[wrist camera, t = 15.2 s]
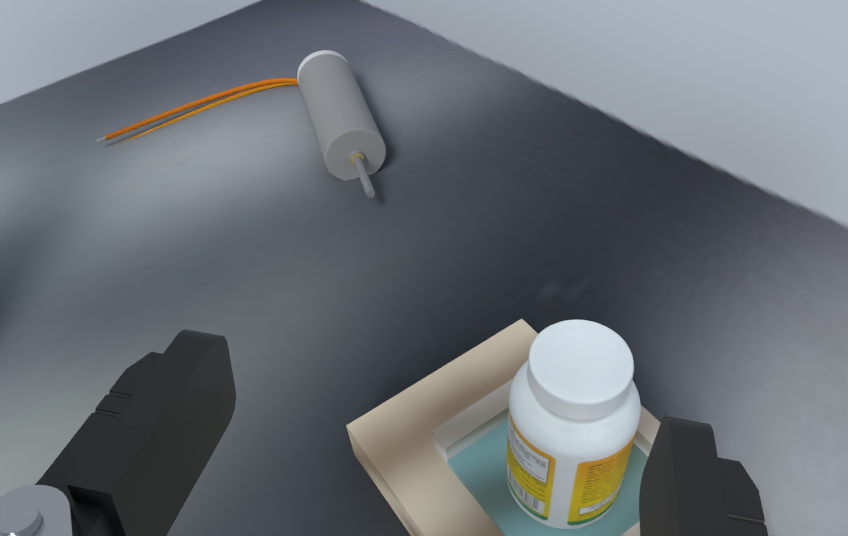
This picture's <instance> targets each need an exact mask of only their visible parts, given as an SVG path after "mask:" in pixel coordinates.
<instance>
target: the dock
mask: <svg viewBox="0 0 848 536" xmlns="http://www.w3.org/2000/svg"><path fill="white" fill-rule="evenodd" d="M537 336H538V333H537V332H536V331H535V330H533V329H532V328H531V327H530V326H529V325H528V324H527V323H526V322H525V321H524V320H523V319H520V320H519V321H517V322H515V323H514V324H512V325H510V326H509V327H507V328H505V329H504V330H502V331H501V332H499V333H497V334H496V335H494V336H492V337H491V338H489V339H487V340H486V341H484V342H483V343H481V344H479V345H478V346H476V347H474V348H473V349H471V350H469V351H468V352H466V353H464V354H463V355H461V356H460V357H458V358H456V359H455V360H453V361H451V362H450V363H448V364H446V365H445V366H443V367H442V368H440V369H438V370H437V371H435V372H433V373H432V374H430V375H428V376H427V377H425V378H424V379H422V380H420V381H419V382H417V383H415V384H414V385H412V386H410V387H409V388H407V389H405V390H404V391H402V392H401V393H399V394H397V395H396V396H394V397H392V398H391V399H389V400H387V401H386V402H384V403H383V404H381V405H379V406H378V407H376V408H374V409H373V410H371V411H369V412H368V413H366V414H364V415H363V416H361V417H360V418H358V419H356V420H355V421H353V422H351V423H350V424H348V425H346V427H347V430H348V434H349V437H350V441H351V444H352V448H353V451H354V454H355V456H356V457H357V459H358V460H359V462H360V463H361V465H362V466H363V467H364V469H365V470H366V472H367V473H368V475H369V476H370V477H371V479H372V480H373V482H374V483H375V485H376V486H377V488H378V489H379V490H380V492H381V493H382V495H383V496H384V498H385V499H386V500H387V502H388V503H389V505H390V506H391V508H392V509H393V511H394V512H395V513H396V515H397V516H398V518H399V519H400V521H401V522H402V523H403V525H404V526H405V528H406V529H407V531H408V532H409V534H410V535H411V536H640V519H639V493H640V484H641V479H642V474H643V471H644V468H645V465H646V462H647V459H648V457H649V454H650V451H651V448H652V445H653V443H654V440H655V437H656V434H657V432H658V429H659V426H660V422H659V421H658V420H657V419H656V418H655V417H654V416H653V415H652V414H651V413H649V412H648V411H647V410H646V409H645V408H644V407H643V406H642V405H641V414H640V421H639V425H638V428H637V432H636V435H635V439H634V442H633V445H632V448H631V452H630V456H629V458H628V462H627V466H626V469H625V473H624V477H623V480H622V484H621V487H620V490H619V494H618V496H617V499H616V501H615V503H614V505H613V506H612V508H611V509H610V510H609V511H608V512H607V513H606V514H605V515H604V516H603V517H602V518H600V519H599V520H597V521H596V522H593V523H592V524H589V525H587V526H584V527H581V528H577V529H559V528H554V527H550V526H547V525H544V524H542V523H540V522H538V521H536V520H534V519H533V518H532V517H530V516H529V515H528V514H526V513H525V512H524V511H523V510H522V509H521V508H520V506H519V505H518V504H517V502H516V501H515V499H514V498H513V496H512V494H511V491H510V489H509V486H508V482H507V474H506V461H507V436H508V410H509V394H510V388H511V385H512V382H513V379H514V377H515V375H516V374H517V372H518V370H519V369H520V368H521V367H522V365H523V364H524V363H525V362H526V361H528V358H529V351H530V348H531V345H532V343H533V341H534V340H535V338H536V337H537Z"/></svg>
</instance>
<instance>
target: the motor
mask: <svg viewBox="0 0 848 536" xmlns="http://www.w3.org/2000/svg"><path fill="white" fill-rule="evenodd" d="M262 85H263V86H262ZM285 85H299V87H300V90H301V93H302V96H303V99H304V102H305V105H306V108H307V111H308V114H309V117H310V120H311V123H312V126H313V129H314V132H315V135H316V138H317V141H318V144H319V147H320V150H321V153H322V156H323V159H324V162H325V165H326V168H327V169H328V171H329V172H330V173H331V174H332V175H333V176H334V177H336V178H338V179H340V180H344V181H347V180H351V179H356V178H360V180H361V183H362V185H363V188H364V190H365V193H366V195H367V197H369V198H372V197H374V195H375V191H374V189H373V186H372V184H371V181H370V179H369V176H368V175H372V174H374V173H376V172H377V171H378V170H379V169H380V167H381V166H382V164H383V163H384V160H385V157H386V146H385V143H384V141H383V138H382V136H381V134H380V132H379V130H378V127H377V125H376V123H375V121H374V119H373V116H372V114H371V112H370V110H369V107H368V105H367V103H366V101H365V99H364V96H363V94H362V92H361V90H360V88H359V85H358V83H357V81H356V79H355V77H354V74H353V72H352V70H351V68H350V66H349V64H348V62H347V60H346V59H345V58H344V57H343V56H342V55H340V54H338V53H336V52H334V51H328V50H323V51H318V52H315V53H312V54H311V55H309V56H308V57H306V58H305V59H304V60H303V62H302V63H301V65H300V66H299V69H298V73H297V79H296V78H277V79H269V80H264V81H259V82H255V83H251V84H247V85H243V86H239V87H236V88H233V89H229V90H226V91H223V92H220V93H217V94H214V95H211V96H208V97H205V98H203V99H200V100H197V101H194V102H191V103H188V104H186V105H183V106H180V107H178V108H175V109H172V110H170V111H167V112H164V113H162V114H159V115H156V116H154V117H151V118H149V119H146V120H144V121H141V122H139V123H136V124H134V125H131V126H129V127H126V128H123V129H121V130H118V131H116V132H113V133H111V134H108V135H106V136H105V137H102V138H100V139H97V140H96V142H97V143H99V142H102V141H104V140H108V139H111V138H113V137H116V136H119V135H121V134H124V133H126V132H129V131H131V130H134V129H136V128H139V127H142V126H144V125H147V124H149V123H152V122H154V121H157V120H159V119H162V118H165V117H167V116H170V115H173V114H175V113H178V112H181V111H183V110H186V109H189V108H191V107H194V106H197V105H200V104H203V103H206V102H209V101H212V100H215V99H218V98H221V97H224V96H227V95H230V94H233V93H236V92H239V91H243V90H246V89H249V90H246V91H243V92H240V93H237V94H235V95H232V96H229V97H227V98H224V99H221V100H219V101H216V102H214V103H211V104H209V105H206V106H204V107H201V108H199V109H197V110H194V111H192V112H189V113H187V114H185V115H182V116H180V117H178V118H175V119H173V120H171V121H168V122H166V123H164V124H161V125H159V126H157V127H155V128H152V129H150V130H148V131H146V132H143V133H141V134H139V135H137V136H135V137H132V138H130V139H133V138H136V137H138V136H141V135H143V134H146V133H149V132H151V131H154V130H156V129H158V128H161V127H163V126H166V125H168V124H171V123H173V122H176V121H178V120H181V119H183V118H186V117H188V116H191V115H193V114H196V113H198V112H201V111H203V110H206V109H209V108H211V107H214V106H216V105H219V104H222V103H225V102H227V101H230V100H233V99H236V98H239V97H242V96H245V95H248V94H251V93H254V92H258V91H261V90H265V89H269V88H274V87H278V86H285ZM258 86H259V87H258ZM254 87H256V88H254ZM250 88H253V89H250ZM130 139H128V140H130ZM126 141H127V140H126ZM123 142H125V141H123ZM121 143H122V142H121ZM119 144H120V143H119ZM114 146H115V145H114Z"/></svg>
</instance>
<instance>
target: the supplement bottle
mask: <svg viewBox="0 0 848 536" xmlns="http://www.w3.org/2000/svg"><path fill="white" fill-rule="evenodd" d="M633 373H634V361H633V356H632V354H631V351H630V349H629V347H628V345H627V344H626V342H625V341H624V340H623V339H622V338H621V337H620V336H619V335H618V334H617V333H615V332H614V331H613V330H611V329H609V328H608V327H606V326H604V325H601V324H599V323H596V322H592V321H587V320H566V321H561V322H558V323H555V324H553V325H550V326H549V327H547V328H545V329H544V330H543V331H542V332H540V333H539V334H538V336H537V337H536V338H535V340H534V341H533V343H532V345H531V348H530V351H529V358H528V361H526V362H525V363H524V364H523V365H522V367H521V368H520V369H519V370H518V372H517V374H516V375H515V377H514V379H513V382H512V385H511V388H510V394H509V410H508V436H507V461H506V474H507V482H508V486H509V489H510V491H511V494H512V496H513V498H514V499H515V501H516V502H517V504H518V505H519V506H520V508H521V509H522V510H523V511H524V512H525V513H526V514H528V515H529V516H530V517H532V518H533V519H534V520H536V521H538V522H540V523H542V524H544V525H547V526H550V527H554V528H559V529H577V528H581V527H584V526H587V525H589V524H592V523H593V522H596V521H597V520H599V519H600V518H602V517H603V516H604V515H605V514H606V513H607V512H608V511H609V510H610V509H611V508H612V506H613V505H614V503H615V501H616V499H617V496H618V494H619V490H620V487H621V484H622V480H623V477H624V473H625V469H626V466H627V462H628V458H629V456H630V452H631V448H632V445H633V442H634V439H635V435H636V432H637V428H638V425H639V421H640V414H641V404H640V398H639V394H638V390H637V388H636V385H635V383H634V382H633V380H632V378H633Z"/></svg>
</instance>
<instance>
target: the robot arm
mask: <svg viewBox="0 0 848 536" xmlns="http://www.w3.org/2000/svg"><path fill="white" fill-rule="evenodd" d="M235 401H236V391H235V385H234V379H233V373H232V367H231V361H230V355H229V350H228V344H227V341H226V339H225V337H223V336H219V335H214V334H208V333H202V332H197V331H191V330H183V331H181V332H180V333H179V334H178V335H177V336H176V337H175V339H174V340H173V341H172V343H171V344H170V345H169V347H168V348H167V349H166V351H165V352H164V353H163V354H161V353H155V352H151V353H149V354H148V355H146V356H145V357H143V358H142V359H140V360H139V361H137V362H136V363H135V364H133V365H132V366H130V367H129V368H127V369H126V370H125V372H124V373H123V374H122V375H121V377H120V378H119V379H118V380H117V382H116V383H115V384H114V386H113V387H112V388H111V389H110V393H109V395H106V396H105V397H104V398H103V400H102V401H101V402H100V403H99V405H98V406H97V407H96V411H95V413H92V414H91V415H90V416H89V418H88V419H87V420H86V421H85V423H84V424H83V425H82V426H81V428H80V429H79V430H78V432H77V433H76V434H75V435H74V437H73V438H72V439H71V441H70V442H69V443H68V444H67V446H66V447H65V448H64V449H63V451H62V452H61V453H60V455H59V456H58V457H57V458H56V460H55V461H54V462H53V464H52V465H51V466H50V467H49V469H48V470H47V471H46V472H45V474H44V475H43V476H42V477H41V479H40V480H39V481H38V482H37V483H36V484H35V485H32V486H26V487H22V488H18V489H16V490H13V491H11V492H9V493H7V494H4V495H3V496H1V497H0V536H166V535H167V533H168V531H169V530H170V528H171V526H172V524H173V523H174V521H175V519H176V517H177V515H178V514H179V512H180V510H181V508H182V507H183V505H184V503H185V501H186V499H187V498H188V496H189V494H190V492H191V491H192V489H193V487H194V485H195V483H196V482H197V480H198V478H199V476H200V475H201V473H202V471H203V469H204V468H205V466H206V464H207V462H208V460H209V459H210V457H211V455H212V453H213V452H214V450H215V448H216V446H217V444H218V443H219V441H220V439H221V437H222V436H223V434H224V432H225V430H226V428H227V427H228V425H229V423H230V420H231V418H232V415H233V412H234V407H235ZM639 519H640V536H768V533H767V528H766V526H765V525H764V520H765V519H764V514H763V510H762V505H761V500H760V496H759V491H758V489H757V487H756V486H755V484H754V483H753V481H752V480H751V478H750V477H749V475H748V473H747V472H746V470H745V469H744V467H743V466H742V464H741V463H740V462H739V461H733V460H728V459H723V458H718V457H717V451H716V445H715V439H714V433H713V429H712V427H711V425H710V424H705V423H700V422H694V421H689V420H683V419H677V418H672V417H666V416H665V417H664V418H663V419H662V421H661V423H660V426H659V429H658V432H657V434H656V437H655V440H654V443H653V445H652V448H651V451H650V454H649V457H648V459H647V462H646V465H645V468H644V471H643V474H642V479H641V484H640V493H639Z"/></svg>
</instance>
